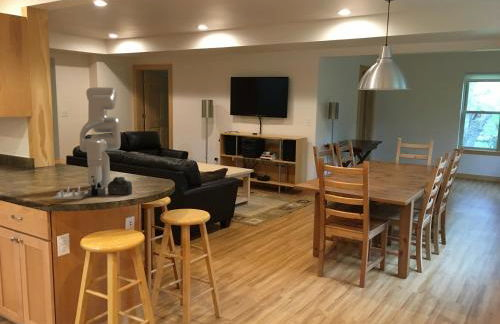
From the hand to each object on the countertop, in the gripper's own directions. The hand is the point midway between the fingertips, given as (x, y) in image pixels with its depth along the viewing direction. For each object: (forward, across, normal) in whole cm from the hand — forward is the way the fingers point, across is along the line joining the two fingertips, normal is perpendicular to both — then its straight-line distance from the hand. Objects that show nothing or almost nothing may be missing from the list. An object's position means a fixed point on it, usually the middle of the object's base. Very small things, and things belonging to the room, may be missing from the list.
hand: (96, 194), depth 232 cm
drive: (+1, 0, 0) cm, 1 cm away
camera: (+1, -3, +12) cm, 13 cm away
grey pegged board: (+1, +3, -13) cm, 13 cm away
